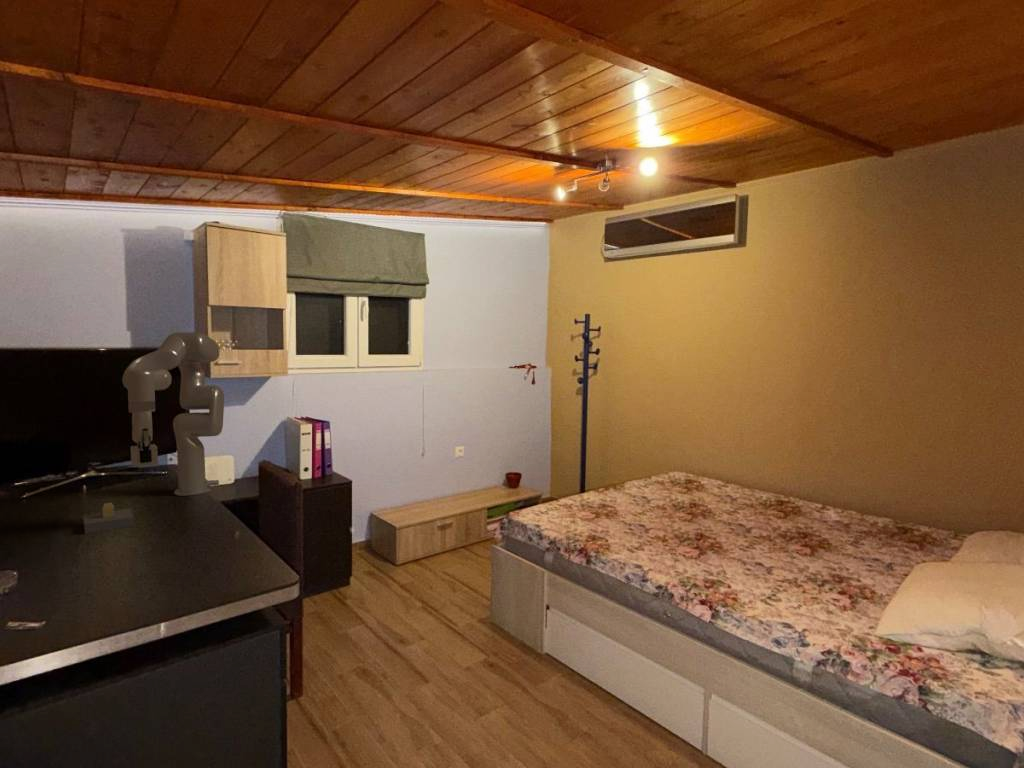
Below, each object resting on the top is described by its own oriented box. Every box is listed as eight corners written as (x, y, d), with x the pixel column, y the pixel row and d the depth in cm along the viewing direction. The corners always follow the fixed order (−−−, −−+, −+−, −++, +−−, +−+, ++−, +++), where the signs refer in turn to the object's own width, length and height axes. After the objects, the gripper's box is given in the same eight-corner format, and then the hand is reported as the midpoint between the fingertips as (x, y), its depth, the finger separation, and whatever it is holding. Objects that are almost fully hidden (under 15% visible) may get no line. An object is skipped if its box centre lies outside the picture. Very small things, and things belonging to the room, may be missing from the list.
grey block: (130, 517, 205) (129, 496, 205) (134, 526, 195) (133, 504, 194) (83, 524, 197) (82, 502, 197) (85, 533, 187) (83, 511, 186)
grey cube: (154, 461, 206) (154, 444, 206) (158, 464, 201) (157, 446, 200) (131, 464, 202) (130, 446, 201) (134, 467, 196) (133, 448, 196)
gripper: (125, 406, 204) (128, 458, 206) (131, 409, 191) (134, 466, 192) (151, 404, 209) (153, 455, 210) (159, 408, 195) (161, 463, 196)
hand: (144, 460), depth 201 cm, fingers closed on grey cube, 6 cm apart
